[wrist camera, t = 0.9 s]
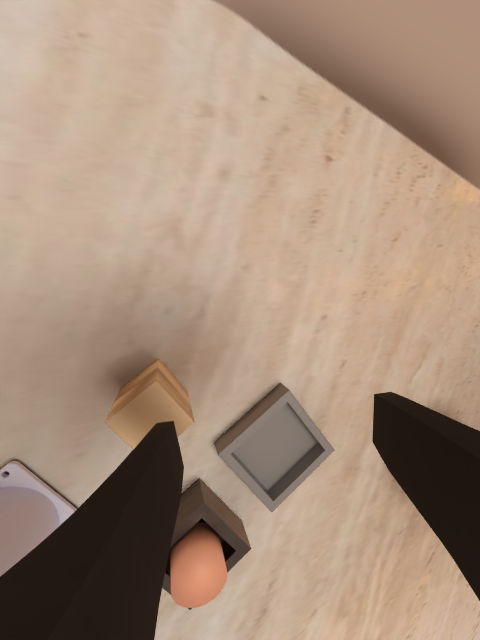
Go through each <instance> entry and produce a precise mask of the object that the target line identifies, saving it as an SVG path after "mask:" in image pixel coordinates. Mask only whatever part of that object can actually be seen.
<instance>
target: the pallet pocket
mask: <svg viewBox="0 0 480 640" xmlns="http://www.w3.org/2000/svg"><path fill="white" fill-rule="evenodd" d="M214 444H215V447H216V450H217V453H218V455H219V456H220V457H221V458H222V460H223V461H224V462H225V463H226V464H227V465H228V466H229V467H230V468H231V469H232V470H233V471H234V472H235V474H236V475H237V476H238V477H239V478H240V479H241V480H242V481H243V482H244V483H245V484H246V485H247V486H248V487H249V489H250V490H251V491H252V492H253V493H254V494H255V495H256V496H257V497H258V498H259V499H260V500H261V501H262V503H263V504H264V505H265V506H266V507H267V508H268V509H269V510H270V511H271V512H273V511H274V510H275V509H276V508H277V507H278V506H279V505H280V504H281V503H282V502H283V501H284V500H285V499H286V498H287V497H288V496H289V495H290V494H291V493H292V492H293V491H294V490H295V489H296V488H297V487H298V486H299V485H300V484H301V483H302V482H303V481H304V480H305V479H306V478H307V477H308V476H309V475H310V474H311V473H312V472H313V471H314V470H315V469H316V468H317V467H318V466H319V465H320V464H321V463H322V462H323V461H324V460H325V459H326V458H327V457H328V456H329V455H330V454H331V453H332V452H333V451H334V448H333V447H332V446H331V444H330V443H329V442H328V440H327V439H326V438H325V436H324V435H323V434H322V432H321V431H320V430H319V429H318V427H317V426H316V425H315V423H314V422H313V421H312V419H311V418H310V417H309V415H308V414H307V413H306V411H305V410H304V409H303V407H302V406H301V405H300V403H299V402H298V401H297V399H296V398H295V397H294V395H293V394H292V393H291V391H290V390H289V389H287V388H286V387H285V386H283V385H282V384H281V383H280V384H279V385H278V386H277V387H276V388H275V389H273V390H272V391H271V392H270V393H269V394H268V395H267V396H266V397H264V398H263V399H262V400H261V401H260V402H259V403H258V404H257V405H256V406H254V407H253V408H252V409H251V410H250V411H249V412H248V413H247V414H245V415H244V416H243V417H242V418H241V419H240V420H239V421H238V422H237V423H235V424H234V425H233V426H232V427H231V428H230V429H229V430H228V431H226V432H225V433H224V434H223V435H222V436H221V437H220V438H219V439H218V440H216V441H215V442H214Z"/></svg>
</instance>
